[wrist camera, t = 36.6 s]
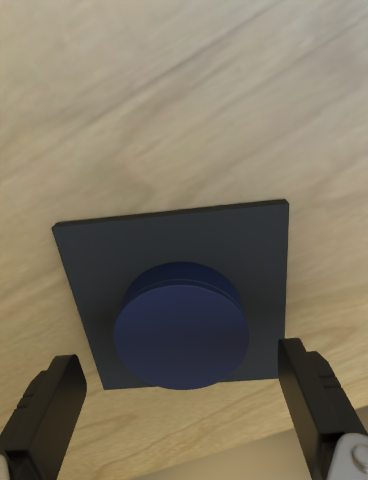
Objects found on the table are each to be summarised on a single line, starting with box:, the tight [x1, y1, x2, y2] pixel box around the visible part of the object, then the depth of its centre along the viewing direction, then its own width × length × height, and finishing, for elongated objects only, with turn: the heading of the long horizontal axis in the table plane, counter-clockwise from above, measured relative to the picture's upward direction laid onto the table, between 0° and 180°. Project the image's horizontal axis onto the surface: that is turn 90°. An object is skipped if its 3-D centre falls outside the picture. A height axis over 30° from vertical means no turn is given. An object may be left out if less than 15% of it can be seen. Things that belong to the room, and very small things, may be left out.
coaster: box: [52, 199, 289, 390], centre depth 14 cm, size 10×10×1 cm
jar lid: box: [113, 262, 250, 390], centre depth 13 cm, size 6×6×2 cm
